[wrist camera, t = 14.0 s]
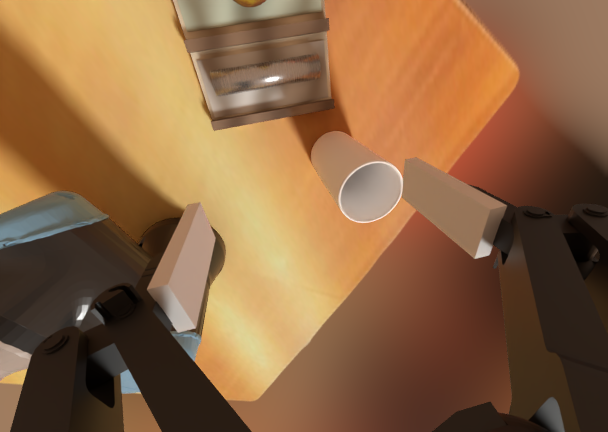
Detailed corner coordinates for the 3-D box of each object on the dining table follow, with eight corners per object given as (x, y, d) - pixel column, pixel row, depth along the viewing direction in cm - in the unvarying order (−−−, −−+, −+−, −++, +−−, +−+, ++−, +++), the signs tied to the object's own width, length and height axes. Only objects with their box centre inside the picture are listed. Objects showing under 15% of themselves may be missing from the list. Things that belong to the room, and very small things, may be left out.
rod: (219, 100, 33) (213, 91, 30) (214, 77, 33) (207, 66, 30) (318, 82, 34) (322, 72, 31) (314, 60, 34) (317, 48, 31)
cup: (307, 135, 40) (336, 168, 26) (355, 126, 41) (406, 154, 27) (313, 180, 44) (340, 229, 31) (356, 172, 45) (400, 215, 32)
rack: (216, 127, 37) (213, 130, 35) (154, -64, 26) (145, -76, 24) (329, 106, 38) (334, 108, 36) (315, -83, 28) (320, -96, 25)
